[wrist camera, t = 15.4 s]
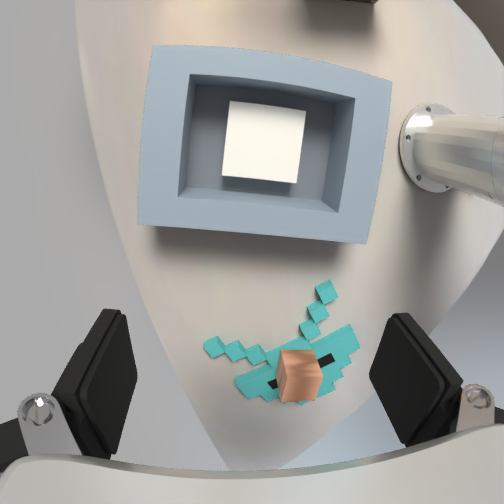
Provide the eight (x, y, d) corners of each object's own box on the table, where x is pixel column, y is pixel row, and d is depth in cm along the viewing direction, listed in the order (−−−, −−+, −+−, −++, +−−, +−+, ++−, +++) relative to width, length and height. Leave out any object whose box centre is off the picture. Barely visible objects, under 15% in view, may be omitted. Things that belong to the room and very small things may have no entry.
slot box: (365, 88, 32) (392, 81, 25) (344, 225, 38) (366, 244, 32) (166, 61, 29) (152, 45, 23) (153, 208, 36) (137, 224, 29)
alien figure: (204, 338, 44) (265, 409, 51) (203, 348, 42) (266, 418, 49) (327, 277, 42) (365, 363, 49) (332, 284, 40) (370, 371, 47)
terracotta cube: (313, 349, 43) (323, 376, 38) (306, 373, 45) (314, 400, 40) (280, 349, 43) (287, 377, 37) (275, 373, 45) (280, 401, 39)
